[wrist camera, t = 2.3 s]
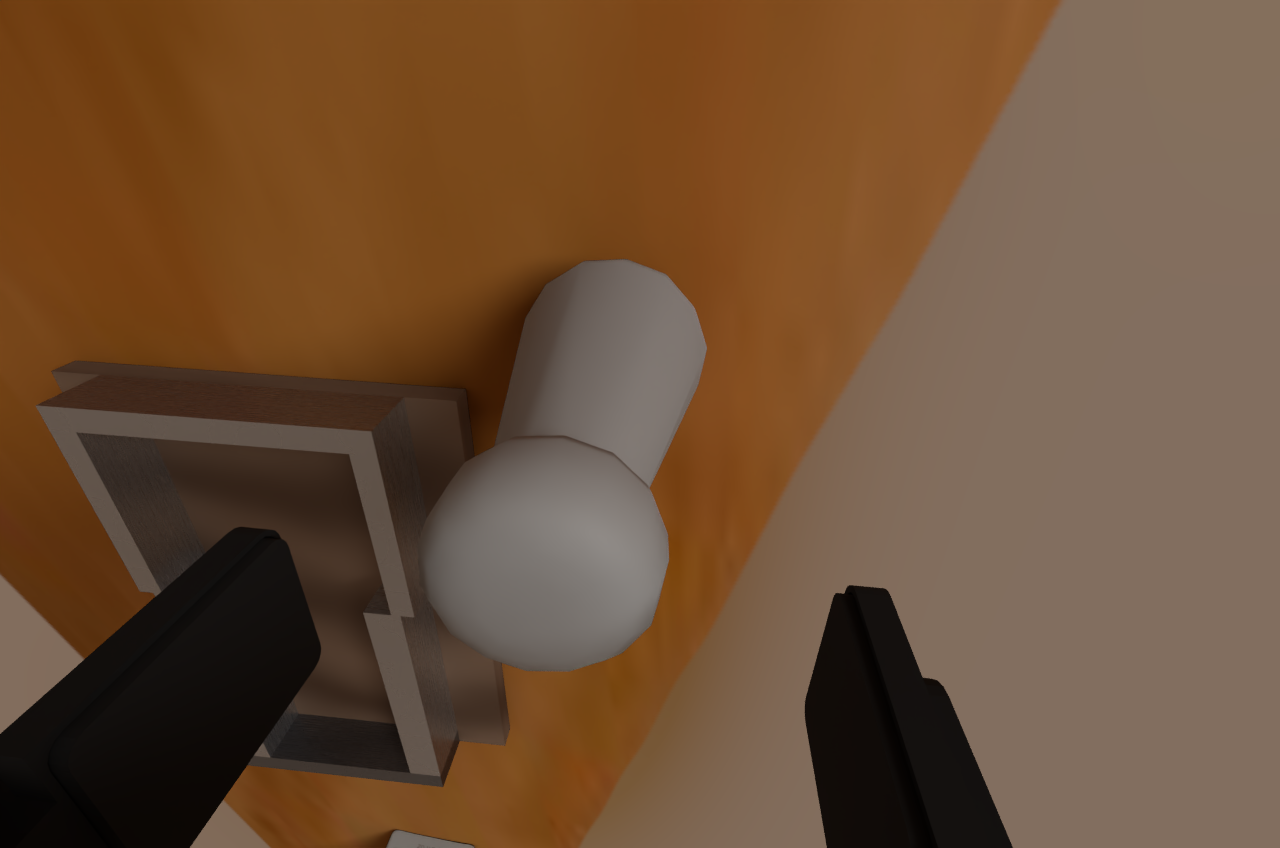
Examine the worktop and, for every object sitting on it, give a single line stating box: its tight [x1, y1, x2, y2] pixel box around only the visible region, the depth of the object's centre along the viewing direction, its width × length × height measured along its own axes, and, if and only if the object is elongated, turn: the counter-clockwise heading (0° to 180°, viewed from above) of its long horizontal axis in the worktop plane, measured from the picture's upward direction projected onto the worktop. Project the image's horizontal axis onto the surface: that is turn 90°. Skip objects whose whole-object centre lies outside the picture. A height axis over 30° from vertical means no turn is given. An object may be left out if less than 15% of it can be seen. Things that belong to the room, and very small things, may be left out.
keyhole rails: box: [36, 375, 460, 787], centre depth 26 cm, size 22×12×2 cm, turn 178°
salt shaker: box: [417, 259, 707, 671], centre depth 15 cm, size 6×6×13 cm
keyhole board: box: [51, 361, 510, 746], centre depth 28 cm, size 22×16×1 cm
